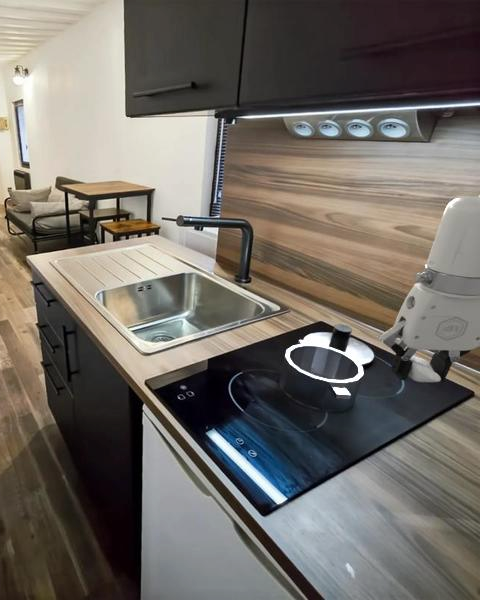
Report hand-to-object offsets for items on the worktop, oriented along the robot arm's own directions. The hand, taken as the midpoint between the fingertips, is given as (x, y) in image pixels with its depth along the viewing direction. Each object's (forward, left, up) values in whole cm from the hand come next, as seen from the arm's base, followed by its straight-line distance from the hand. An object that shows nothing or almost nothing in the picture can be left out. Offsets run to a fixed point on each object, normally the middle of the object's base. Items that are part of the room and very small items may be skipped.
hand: (416, 375), depth 64 cm
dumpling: (0, 0, -1) cm, 1 cm away
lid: (0, -25, -11) cm, 27 cm away
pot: (+11, -9, -12) cm, 18 cm away
